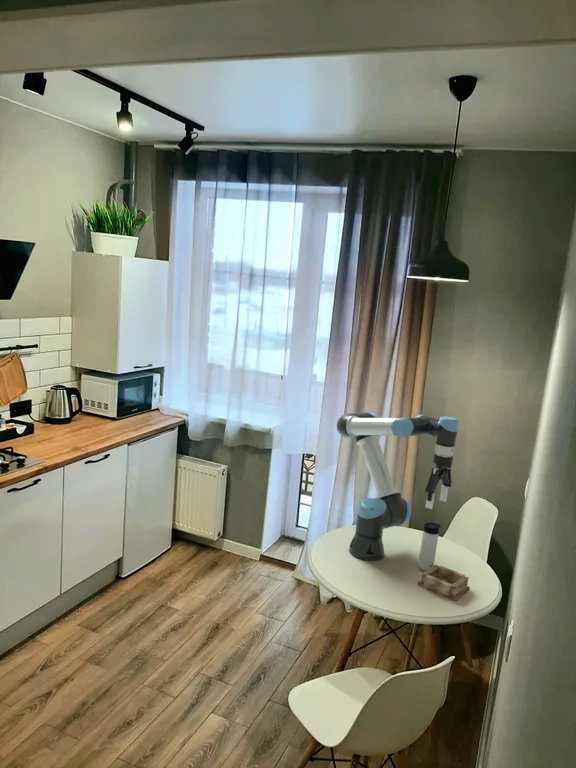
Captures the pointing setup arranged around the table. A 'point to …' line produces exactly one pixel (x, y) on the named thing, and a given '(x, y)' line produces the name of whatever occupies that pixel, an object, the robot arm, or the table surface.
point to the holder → (445, 582)
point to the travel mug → (428, 546)
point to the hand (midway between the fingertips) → (435, 504)
